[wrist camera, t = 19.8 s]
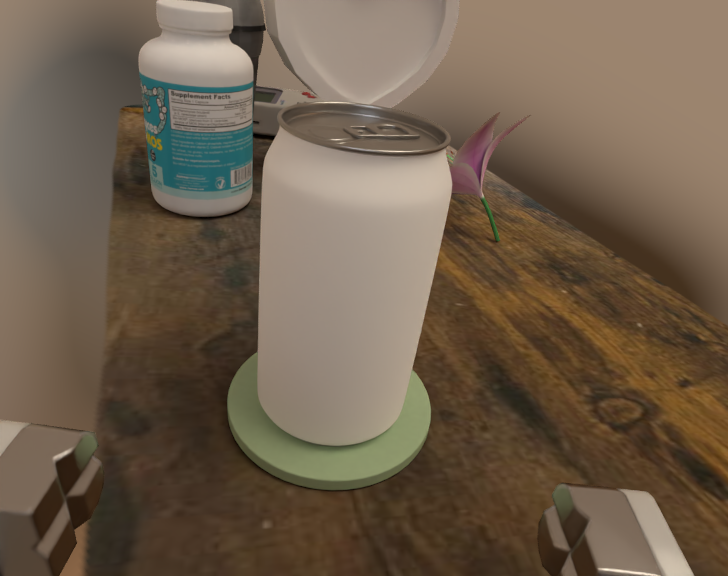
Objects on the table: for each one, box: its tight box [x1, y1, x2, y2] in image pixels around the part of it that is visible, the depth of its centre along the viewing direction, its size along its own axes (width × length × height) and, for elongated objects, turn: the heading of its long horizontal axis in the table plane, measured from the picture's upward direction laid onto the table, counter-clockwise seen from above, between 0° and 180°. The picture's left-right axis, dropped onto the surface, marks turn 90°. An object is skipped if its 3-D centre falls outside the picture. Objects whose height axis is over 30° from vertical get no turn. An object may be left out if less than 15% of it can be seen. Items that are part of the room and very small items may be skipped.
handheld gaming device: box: [253, 85, 324, 136], centre depth 58 cm, size 9×15×4 cm, turn 91°
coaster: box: [227, 352, 431, 490], centre depth 23 cm, size 9×9×1 cm
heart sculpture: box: [264, 0, 460, 108], centre depth 44 cm, size 16×5×18 cm, turn 113°
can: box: [257, 101, 452, 447], centre depth 20 cm, size 6×6×12 cm
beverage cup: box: [186, 0, 266, 112], centre depth 43 cm, size 7×7×20 cm
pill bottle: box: [139, 0, 253, 217], centre depth 37 cm, size 8×7×14 cm
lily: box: [446, 112, 530, 241], centre depth 40 cm, size 12×12×10 cm
